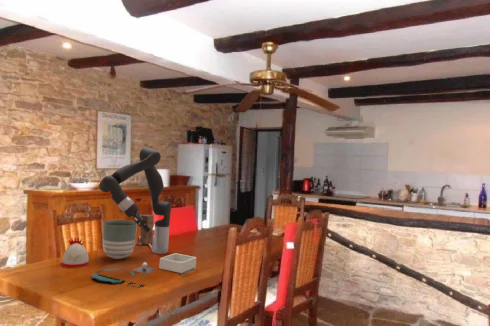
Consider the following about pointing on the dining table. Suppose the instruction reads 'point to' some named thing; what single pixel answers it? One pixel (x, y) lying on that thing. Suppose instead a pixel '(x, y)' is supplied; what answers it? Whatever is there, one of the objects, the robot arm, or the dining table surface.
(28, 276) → the dining table surface
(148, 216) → the strut
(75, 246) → the kitchen timer
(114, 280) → the cutlery set
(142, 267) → the stud plate
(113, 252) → the planter
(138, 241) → the toy hammer
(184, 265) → the bin
